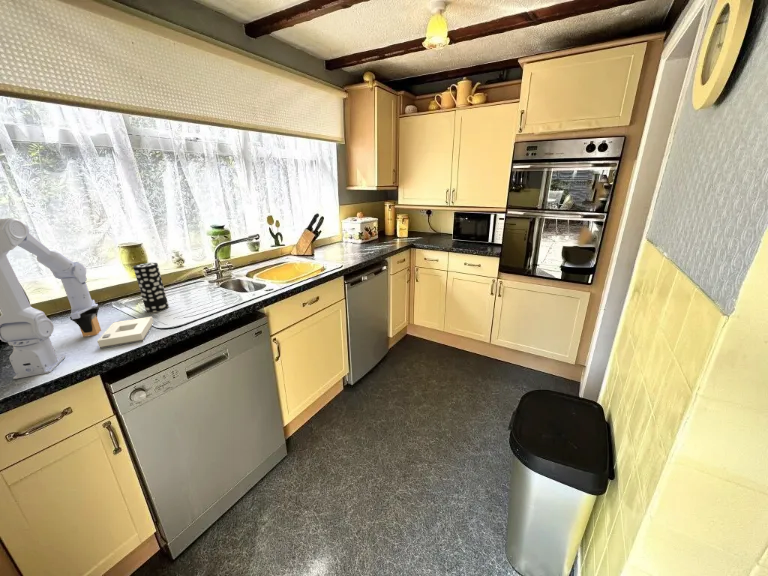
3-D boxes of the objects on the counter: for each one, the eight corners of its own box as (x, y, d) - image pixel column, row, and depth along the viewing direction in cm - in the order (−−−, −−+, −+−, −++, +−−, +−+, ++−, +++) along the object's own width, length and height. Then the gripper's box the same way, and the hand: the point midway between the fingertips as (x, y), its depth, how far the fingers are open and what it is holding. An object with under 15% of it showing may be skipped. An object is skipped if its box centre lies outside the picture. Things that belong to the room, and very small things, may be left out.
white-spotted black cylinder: (143, 313, 131) (130, 268, 125) (149, 306, 139) (136, 264, 132) (166, 310, 134) (154, 266, 128) (170, 304, 142) (159, 261, 135)
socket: (143, 341, 108) (140, 332, 107) (100, 348, 103) (96, 339, 102) (153, 323, 122) (151, 315, 121) (115, 329, 117) (113, 321, 116)
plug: (97, 334, 113) (91, 317, 111) (83, 336, 112) (76, 319, 109) (101, 330, 117) (95, 313, 115) (87, 332, 115) (81, 315, 113)
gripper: (84, 299, 105) (97, 335, 109) (100, 287, 117) (111, 320, 122) (57, 303, 102) (71, 339, 106) (76, 290, 114) (88, 323, 119)
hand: (91, 329), depth 114 cm, fingers closed on plug, 4 cm apart
